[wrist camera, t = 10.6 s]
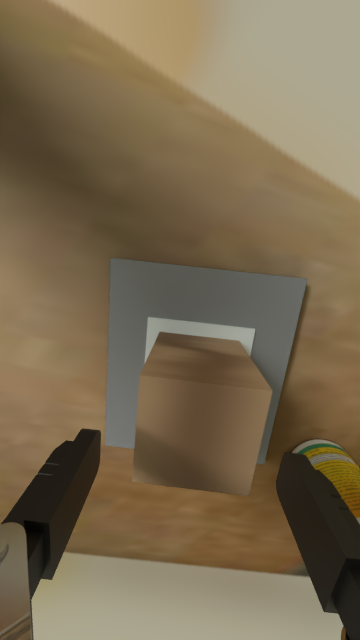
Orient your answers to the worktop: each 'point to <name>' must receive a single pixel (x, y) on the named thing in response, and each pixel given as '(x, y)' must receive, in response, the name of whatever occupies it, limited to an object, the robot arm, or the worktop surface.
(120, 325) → the grey flat plate
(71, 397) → the worktop surface
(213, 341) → the tan wooden block
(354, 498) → the supplement bottle
